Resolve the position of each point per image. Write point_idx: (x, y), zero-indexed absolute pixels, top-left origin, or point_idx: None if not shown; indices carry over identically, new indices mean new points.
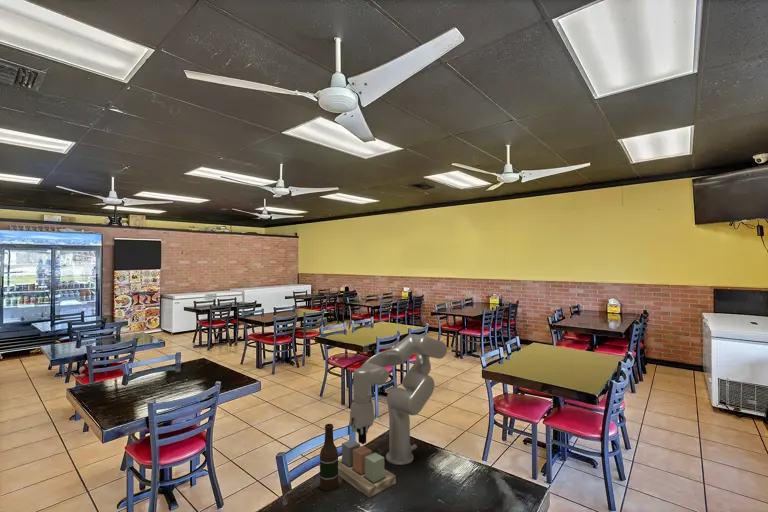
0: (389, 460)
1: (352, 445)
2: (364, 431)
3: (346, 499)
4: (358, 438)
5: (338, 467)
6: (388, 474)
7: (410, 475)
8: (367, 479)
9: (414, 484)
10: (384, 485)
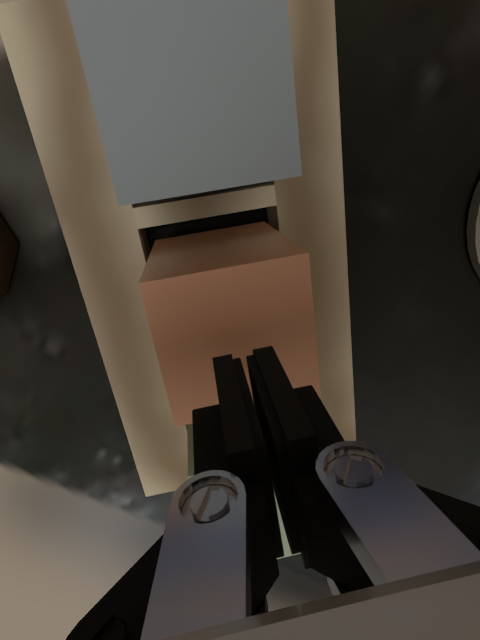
0: (476, 225)
1: (188, 157)
2: (326, 575)
3: (24, 425)
4: (193, 428)
5: (42, 141)
6: None
7: (450, 402)
8: None
9: (405, 470)
10: None
